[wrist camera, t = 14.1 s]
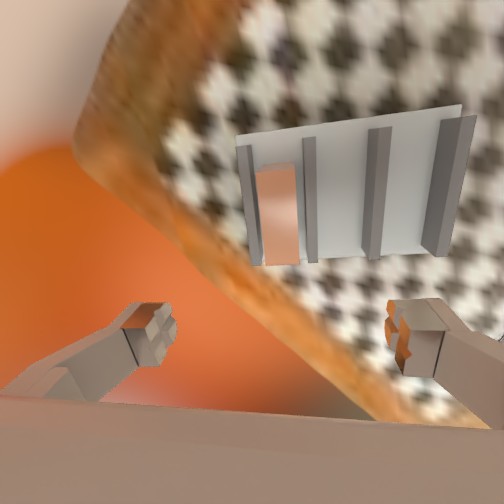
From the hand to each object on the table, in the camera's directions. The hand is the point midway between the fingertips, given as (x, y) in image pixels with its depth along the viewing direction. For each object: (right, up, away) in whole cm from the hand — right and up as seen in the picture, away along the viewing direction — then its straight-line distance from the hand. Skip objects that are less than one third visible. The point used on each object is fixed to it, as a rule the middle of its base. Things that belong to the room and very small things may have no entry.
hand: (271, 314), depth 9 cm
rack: (+8, +9, +17) cm, 21 cm away
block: (+2, +8, +17) cm, 19 cm away
